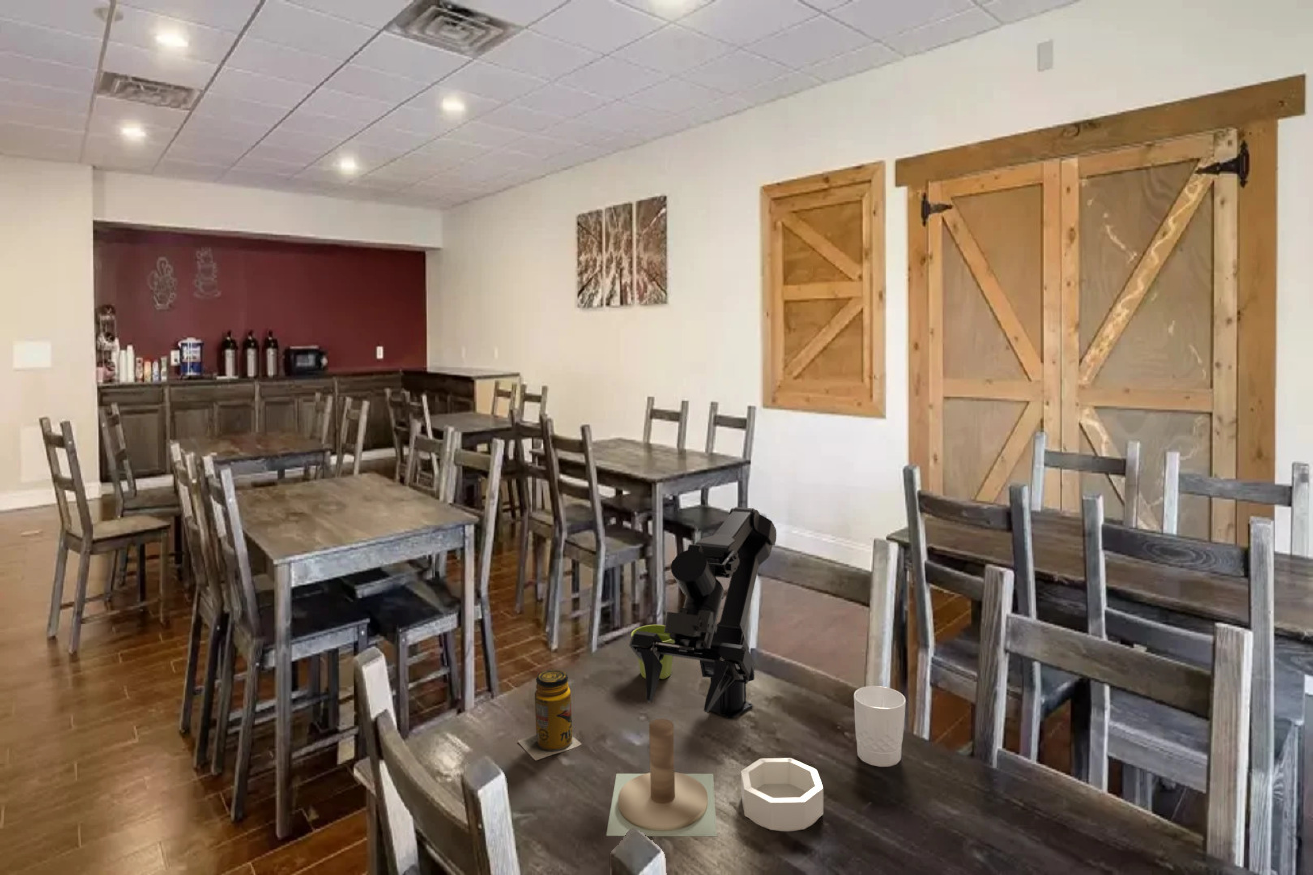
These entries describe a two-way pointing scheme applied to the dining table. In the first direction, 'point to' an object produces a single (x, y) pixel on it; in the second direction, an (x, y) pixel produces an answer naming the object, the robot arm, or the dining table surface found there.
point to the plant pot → (666, 659)
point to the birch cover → (662, 788)
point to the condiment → (551, 716)
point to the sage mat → (699, 828)
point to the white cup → (879, 725)
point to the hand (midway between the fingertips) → (677, 706)
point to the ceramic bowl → (781, 794)
